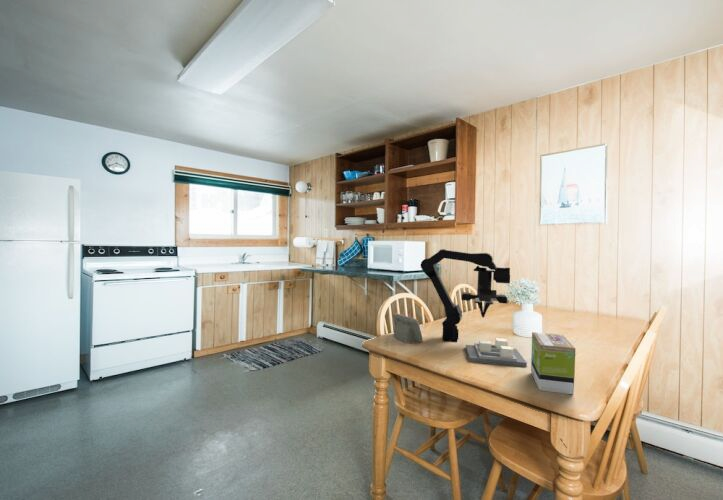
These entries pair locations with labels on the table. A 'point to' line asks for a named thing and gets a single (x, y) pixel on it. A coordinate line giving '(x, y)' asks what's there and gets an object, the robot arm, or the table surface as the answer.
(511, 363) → the switch bank
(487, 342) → the white cube block
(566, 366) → the tea box
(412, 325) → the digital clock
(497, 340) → the tab
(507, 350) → the tab
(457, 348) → the table surface
